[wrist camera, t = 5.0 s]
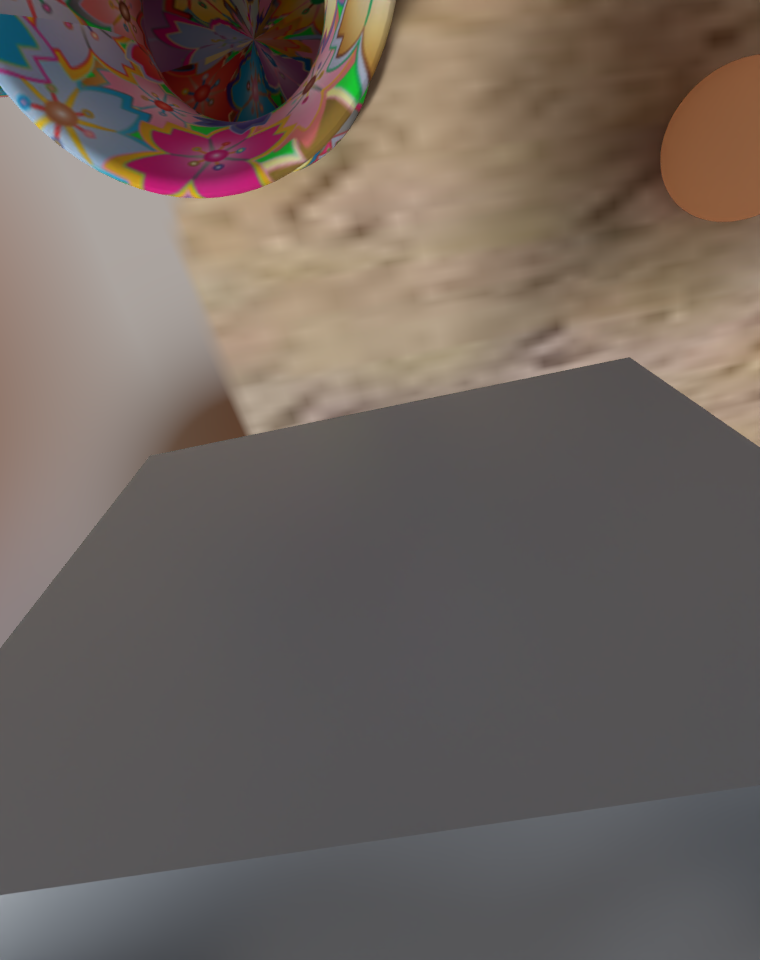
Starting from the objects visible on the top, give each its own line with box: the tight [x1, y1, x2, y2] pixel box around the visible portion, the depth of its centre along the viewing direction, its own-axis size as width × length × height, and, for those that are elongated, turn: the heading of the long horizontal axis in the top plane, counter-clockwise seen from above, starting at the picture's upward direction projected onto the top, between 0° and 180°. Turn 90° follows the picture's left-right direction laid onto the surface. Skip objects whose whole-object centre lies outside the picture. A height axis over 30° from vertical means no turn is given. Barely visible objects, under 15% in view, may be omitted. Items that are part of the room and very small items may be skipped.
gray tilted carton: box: [0, 357, 760, 960], centre depth 10 cm, size 10×10×9 cm
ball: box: [660, 54, 760, 222], centre depth 20 cm, size 5×5×5 cm
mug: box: [0, 0, 396, 198], centre depth 16 cm, size 12×9×11 cm
